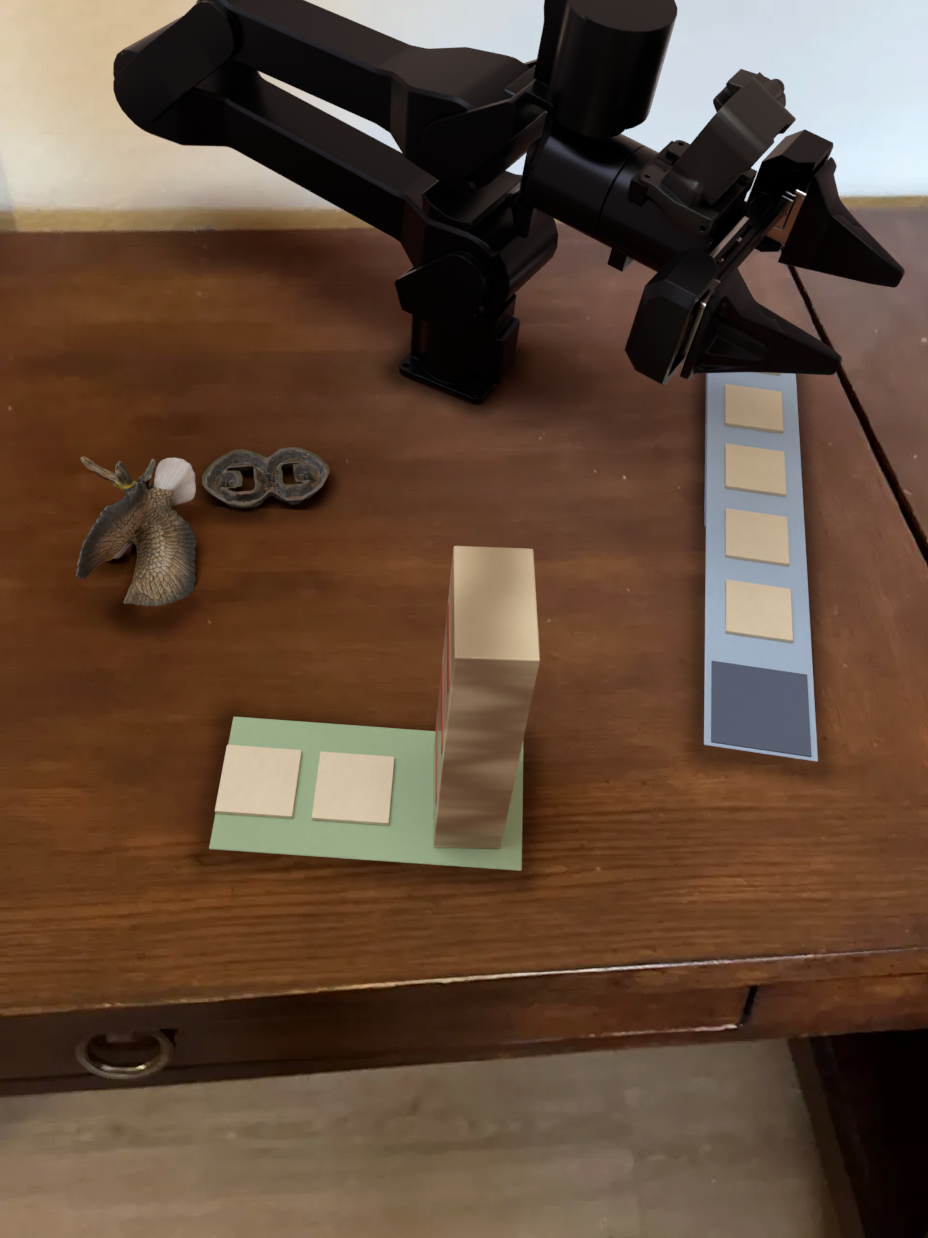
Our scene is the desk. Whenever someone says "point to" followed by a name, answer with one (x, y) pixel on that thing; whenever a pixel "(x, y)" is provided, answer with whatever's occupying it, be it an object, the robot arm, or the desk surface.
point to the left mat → (342, 795)
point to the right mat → (756, 570)
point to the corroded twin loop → (265, 476)
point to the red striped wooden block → (483, 693)
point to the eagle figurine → (146, 531)
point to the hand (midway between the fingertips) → (871, 321)
